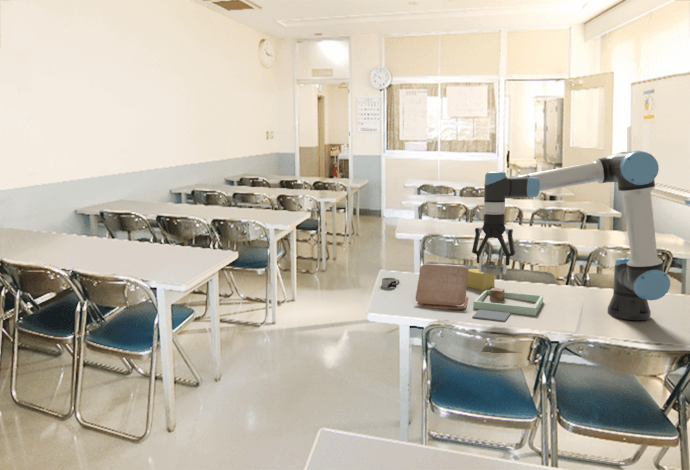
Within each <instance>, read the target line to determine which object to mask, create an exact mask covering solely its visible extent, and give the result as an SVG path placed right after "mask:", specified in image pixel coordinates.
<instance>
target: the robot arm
mask: <svg viewBox="0 0 690 470" xmlns="http://www.w3.org/2000/svg"><path fill="white" fill-rule="evenodd" d="M658 175H659V163H658V160H657V159H656V157H655V156H653V155H652V154H651V153H649V152H646V151H642V150H641V151H640V150H632V151H622V152H618V153H615V154H612V155H608V156H604V157H601V158H596V159H594V161H592V162H587V163H583V164H577V165H570V166H566V167H560V168H555V169H554V168H553V169H550V170H549V169H548V170H543V171H537V172H532V173H528V174H527V173H526V174H521V175H512V176H510V177H509V176H507V173H506V172H504V171H489V172H488V171H487V172H486V173H485V175H484V185H483V186H484V193H483V194H484V199H483V200H484V202H483V213H484V214H483V225H482V227H475V229H474V232H475V235H474V239H473V245H472V250H471V253H472V254H475V255H476V264H478V265H479V267H478V269H479V272H482V267H481V266H482V265H483V264H484V254H482V253H483V251H484V249H485V246H486V245H487V243H488V241H489V240H490V239H497V240H498V241H499V244H500V246H501V248H502V250H503V253H504V255H505V256H503V262H502V264H503V272H502V275H506V274H507V269H508V268H507V266H509V265H510V264H511V263H510V262H511V259H510V258H511V257H513V256H515V255H516V250H515V243H514V238H513V233H514V229H513V228H506V226H505V219H506V218H505V217H506V215H505V212H506V198H527V199H529V198H537V197H538V196H539V194H540V192H544V191H549V190H550V191H551V190H555V189H562V188H567V187H574V186H579V185H583V184H590V183H596V182H597V183H598V184H605V183H606V184H607V183H617V189H618V192H619V193H621V194H622V196H623V200H624V207H625V217H626V227H627V228H626V229H627V236H628V245H629V246H628V247H629V255H630V257H618V258H616V259H615V262H614V266H613V267H614V272H613V273H614V275H613V293H612V297H611V299H610V301H609V304H608V306H607V314H608V315H609V316H612V317H613V318H617V319H621V320H628V321H646V320H650V319H651V313H652V312H651V308H650V306H649V302H648V301H656V300H659V299H661V298H663V297H665V295H666V294H668V292H669V290H670V289H671V279H670V277H669V275H668V274H667V272H665V269H664V263H663V262H664V261H663V260H662V259H661V258H659V256H658V251H657V241H656V233H655V223H654V222H655V221H654V211H653V202H652V194H651V193H652V190H654V188H656V185H655V184H656V183H655V179H656V177H657V176H658ZM482 232H484V237H483V240H482V242H481V244H480V245H479V241H480V237H481V236H480V235H481V233H482ZM504 233H506V235H507V241H508V246H507V243H506V242H505V240H504V236H503V234H504ZM478 245H479V248H478ZM508 247H509V248H508Z"/></svg>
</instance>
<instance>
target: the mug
mask: <svg viewBox="0 0 690 470" xmlns="http://www.w3.org/2000/svg"><path fill="white" fill-rule="evenodd" d="M398 283H399V284H401V283H400V279H398V278H396V277H382V278H381V286H382V288H386V289H395V288H397V284H398Z"/></svg>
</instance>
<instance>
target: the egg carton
mask: <svg viewBox="0 0 690 470" xmlns="http://www.w3.org/2000/svg"><path fill="white" fill-rule="evenodd" d="M481 267H482V272H483V273H490V274H494V275H495V276H497V275H498V276H499V275H501V274H502V275H503V263H502V264H500V263H497V264H496V262H495V261H493V260H491V258H490V259H487V260H486V262H483V265H482V266H481Z"/></svg>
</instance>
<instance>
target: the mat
mask: <svg viewBox="0 0 690 470" xmlns="http://www.w3.org/2000/svg"><path fill="white" fill-rule="evenodd" d="M510 315H511V313H507V312H499V311H490V310H481V309H477V311H476V312H475V313H474V314H473V315H472V319H477V320H486V321H494V322H502V323H505V322H507V320H508V318H509V317H510Z"/></svg>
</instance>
